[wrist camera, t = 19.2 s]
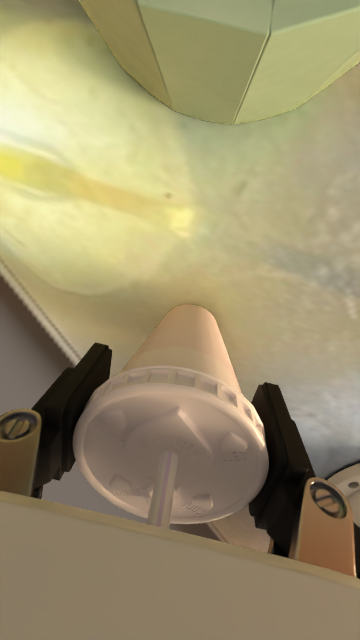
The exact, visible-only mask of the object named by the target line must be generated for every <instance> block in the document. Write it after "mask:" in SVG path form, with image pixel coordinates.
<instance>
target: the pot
mask: <svg viewBox="0 0 360 640" xmlns="http://www.w3.org/2000/svg"><path fill="white" fill-rule="evenodd" d="M78 1H79V2H80V4H81V6H82V7H83V9H84V10H85V12H86V13H87V15H88V16H89V18H90V19H91V21H92V23H93V24H94V26H95V27H96V29H97V30H98V32H99V33H100V35H101V37H102V38H103V40H104V41H105V43H106V44H107V46H108V47H109V49H110V50H111V52H112V54H113V55H114V57H115V58H116V60H117V61H118V63H119V64H120V66H121V67H122V68H123V69H124V70H125V71H126V72H127V73H128V74H129V75H131V76H132V77H133V78H134V79H135V80H136V81H137V82H138V83H139V84H140V85H141V86H143V87H144V88H145V89H146V90H147V91H148V92H149V93H150V94H151V95H153V96H154V97H155V98H157V99H158V100H160V101H161V102H163V103H164V104H165V105H167V106H169V107H170V108H171V109H172V110H174V111H175V112H180V113H182V114H184V115H187V116H190V117H193V118H197V119H200V120H203V121H209V122H216V123H222V124H223V123H227V124H231V125H232V124H238V123H246V122H252V121H258V120H263V119H266V118H269V117H272V116H275V115H278V114H281V113H284V112H287V111H291V110H294V109H295V108H298V107H299V106H301V105H302V104H303V103H305V102H306V101H308V100H309V99H310V98H312V97H313V96H314V95H316V94H318V93H319V92H321V91H322V90H323V89H325V88H326V87H327V86H328V85H329V84H331V83H332V82H333V81H335V80H336V79H338V78H339V77H340V76H342V75H343V74H344V73H346V72H347V71H348V70H350V69H351V68H353V67H354V66H355V65H357V64H358V63H359V62H360V0H78Z"/></svg>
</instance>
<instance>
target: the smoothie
mask: <svg viewBox="0 0 360 640" xmlns="http://www.w3.org/2000/svg"><path fill="white" fill-rule="evenodd" d="M73 452H74V456H75V459H76V462H77V465H78V467H79V469H80V471H81V473H82V474H83V475H84V477H85V478H86V480H87V481H88V483H89V484H90V485H91V486H92V487H93V488H94V489H95V490H96V491H97V492H98V493H99V494H100V495H102V496H103V497H104V498H106V499H107V500H108V501H110V502H111V503H113V504H114V505H116V506H118V507H120V508H121V509H123V510H125V511H128V512H130V513H133V514H135V515H138V516H140V517H144V518H147V524H150V525H154V526H158V527H162V528H166V529H169V526H170V523H176V524H193V523H204V522H209V521H213V520H218V519H221V518H223V517H226V516H229V515H231V514H234V513H235V512H237V511H238V510H240V509H242V508H243V507H245V506H246V505H247V504H248V503H250V502H251V501H252V500H253V499H254V498H255V497H256V496H257V495H258V493H259V492H260V491H261V489H262V487H263V485H264V483H265V481H266V478H267V474H268V469H269V458H268V453H267V448H266V440H265V433H264V426H263V423H262V422H261V420H260V418H259V416H258V414H257V412H256V410H255V408H254V406H253V405H252V404H251V403H250V402H249V401H248V400H247V399H246V398H245V397H244V396H243V395H242V392H241V389H240V386H239V384H238V381H237V379H236V376H235V373H234V370H233V367H232V364H231V362H230V359H229V356H228V353H227V350H226V348H225V345H224V342H223V339H222V336H221V334H220V331H219V328H218V325H217V322H216V320H215V318H214V317H213V315H212V314H211V313H210V312H209V311H208V310H206V309H205V308H203V307H201V306H198V305H193V304H184V305H180V306H177V307H175V308H173V309H172V310H170V311H169V312H168V313H167V314H166V316H165V317H164V318H163V319H162V321H161V322H160V323H159V324H158V326H157V327H156V328H155V330H154V331H153V332H152V333H151V335H150V336H149V337H148V338H147V340H146V341H145V342H144V343H143V345H142V346H141V347H140V349H139V350H138V351H137V352H136V354H135V355H134V356H133V357H132V359H131V360H130V361H129V363H128V364H127V365H126V366H125V367H124V368H123V370H122V371H121V372H120V374H117V375H115V376H112V377H111V378H109V379H108V380H107V381H106V382H105V383H103V384H102V385H101V386H100V387H98V388H97V389H96V390H95V391H94V393H93V394H92V396H91V397H90V399H89V401H88V402H87V404H86V405H85V408H84V412H83V413H82V415H81V416H80V418H79V420H78V422H77V424H76V427H75V429H74V434H73Z"/></svg>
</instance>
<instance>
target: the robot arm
mask: <svg viewBox="0 0 360 640" xmlns="http://www.w3.org/2000/svg"><path fill="white" fill-rule="evenodd" d="M111 358H112V350H111V349H109V347H108V345H104V344H100V343H95V344H94V345H93V346H92V347H91V348H90V350H89V351H88V352H87V353H86V354H85V356H84V357H83V358H82V359H81V361H80V362H79V363H78V364H77V366H76V367H75V368H70V367H69V368H67V369H66V370H64V372H63V373H62V374H61V375H60V376H59V377H58V379H57V380H56V381H55V382H54V383H53V384H52V386H51V387H50V388H49V389H48V390H47V391H46V393H45V394H44V395H43V396H42V397H41V398H40V400H39V401H38V402H37V403H36V404H35V405H34V406H33V408H32V409H15V410H11V411H9V412H6V413H5V414H3V415H1V416H0V640H360V463H358V464H356V465H353V466H351V467H348V468H346V469H344V470H342V471H340V472H338V473H336V474H334V475H333V476H332V477H330V478H329V479H328V480H325V479H322V478H318V477H316V476H315V473H314V470H313V468H312V465H311V463H310V460H309V457H308V455H307V452H306V450H305V447H304V444H303V442H302V439H301V437H300V434H299V431H298V429H297V426H296V424H295V422H294V421H293V420H292V419H291V417H290V415H289V412H288V409H287V407H286V404H285V401H284V399H283V396H282V393H281V391H280V388H279V386H278V385H275V384H270V383H266V382H265V383H264V384H263V385H259V386H258V388H257V391H256V393H255V395H254V398H253V400H252V402H251V404H252V405H253V406H254V408H255V410H256V412H257V414H258V416H259V418H260V420H261V422H262V423H263V426H264V433H265V440H266V448H267V453H268V458H269V469H268V474H267V478H266V481H265V483H264V485H263V487H262V489H261V491H260V492H259V493H258V495H257V496H256V497H255V498H254V499H253V500H252V501H251V502H250V503H248V504H249V511H250V515H251V516H254V519H255V526H256V528H260V529H264V530H267V534H268V535H269V536H270V537H271V539H270V544H269V548H268V553H265V552H261V551H257V550H253V549H249V548H245V547H241V546H237V545H233V544H228V543H224V542H220V541H216V540H212V539H208V538H204V537H200V536H196V535H191V534H187V533H183V532H179V531H175V530H170V529H166V528H162V527H158V526H154V525H150V524H145V523H141V522H137V521H133V520H129V519H124V518H120V517H116V516H111V515H107V514H103V513H98V512H94V511H90V510H85V509H81V508H77V507H73V506H69V505H64V504H60V503H55V502H52V501H47V500H42V499H41V497H42V490H43V485H44V484H46V483H48V482H50V481H51V480H52V479H55V480H60V479H61V477H62V475H63V473H64V472H69V471H70V470H71V468H72V466H73V464H74V462H75V460H76V459H75V456H74V452H73V434H74V429H75V427H76V424H77V422H78V420H79V418H80V416H81V415H82V413H83V412H84V408H85V405H86V404H87V402H88V401H89V399H90V397H91V396H92V394H93V393H94V391H95V390H96V389H97V388H98V387H100V386H101V385H102V384H103V383H105V382H106V381H107V380H108V379H109V375H110V366H111Z"/></svg>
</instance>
